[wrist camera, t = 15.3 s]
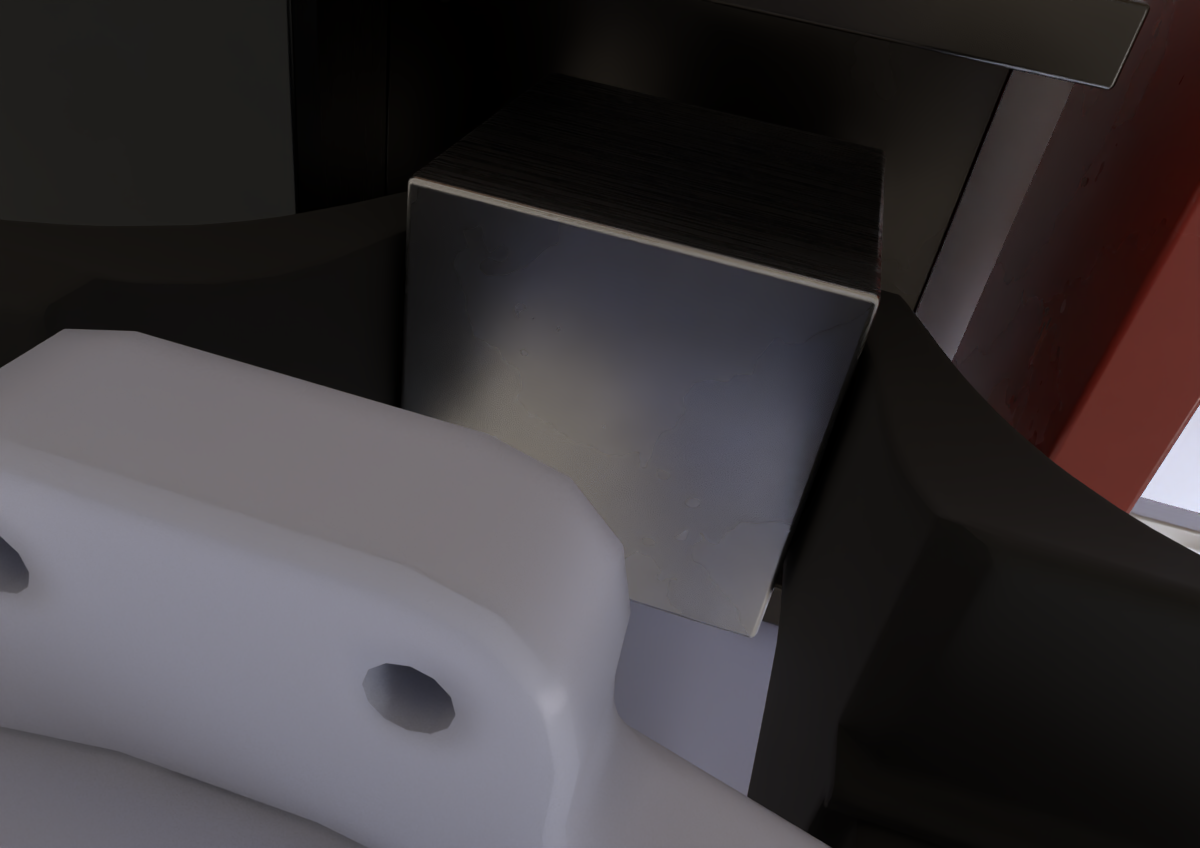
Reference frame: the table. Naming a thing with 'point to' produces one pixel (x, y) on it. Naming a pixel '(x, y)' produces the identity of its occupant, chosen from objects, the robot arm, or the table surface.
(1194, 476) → the table surface
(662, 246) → the steel block
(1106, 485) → the drawer
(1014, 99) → the table surface
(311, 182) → the black storage chest
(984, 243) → the table surface
